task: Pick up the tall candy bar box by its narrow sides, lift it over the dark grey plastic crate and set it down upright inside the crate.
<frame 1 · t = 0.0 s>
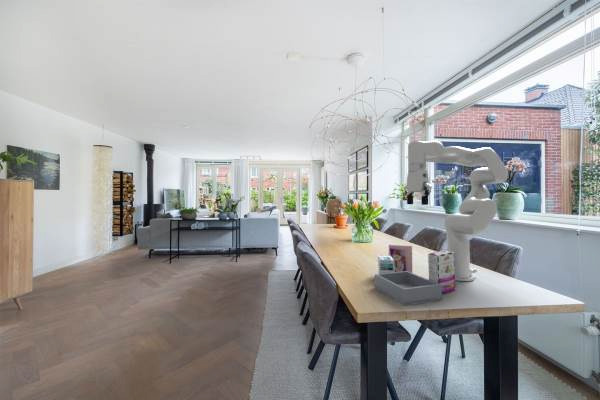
hand: (417, 204, 120), 37 cm above the table, tool pointing down, fingers open, 9 cm apart
pink printed box: (401, 275, 133), on the table
crate: (406, 293, 107), on the table
candy bar box: (441, 291, 109), on the table
light bulb box: (386, 279, 126), on the table
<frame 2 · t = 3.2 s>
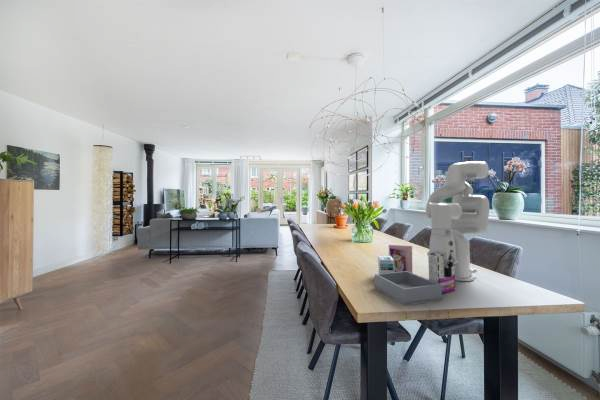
hand: (441, 274, 109), 7 cm above the table, tool pointing down, fingers closed on candy bar box, 5 cm apart
candy bar box: (441, 291, 109), on the table, touching gripper
everything else where it was.
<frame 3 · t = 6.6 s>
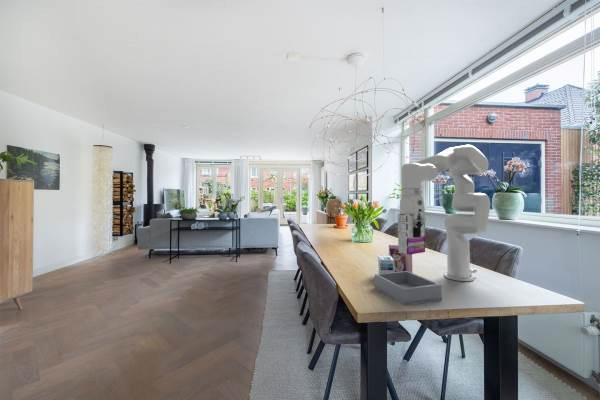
hand: (411, 235, 107), 24 cm above the table, tool pointing down, fingers closed on candy bar box, 5 cm apart
candy bar box: (411, 253, 107), point 17 cm above the table, touching gripper
everything else where it was.
when the fingers open (9 cm above the table, at t = 10.1 s): candy bar box stays where it is, resting on crate.
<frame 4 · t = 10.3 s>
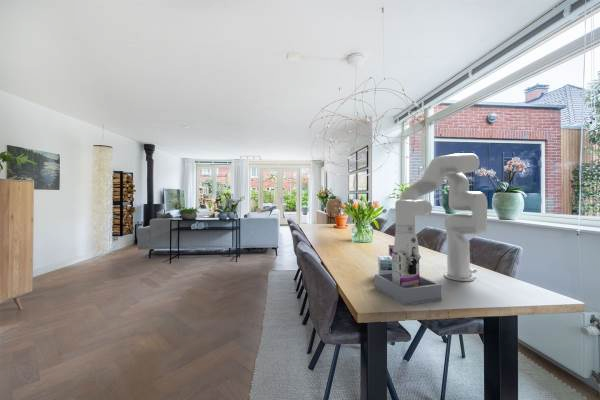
hand: (405, 271, 107), 9 cm above the table, tool pointing down, fingers open, 7 cm apart
candy bar box: (405, 291, 107), point 1 cm above the table, touching crate
everything else where it was.
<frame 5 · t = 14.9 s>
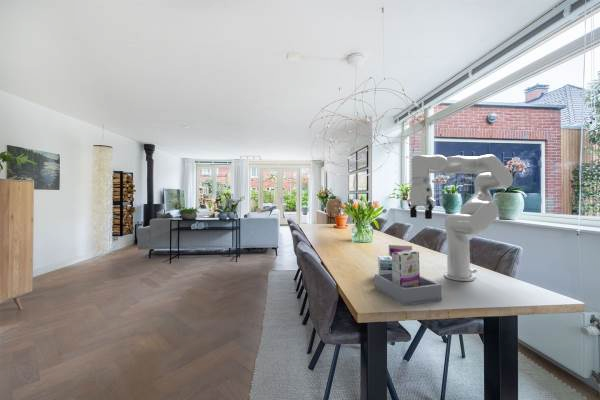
hand: (420, 218, 121), 30 cm above the table, tool pointing down, fingers open, 9 cm apart
nothing on the table moved.
at the end: candy bar box inside the target area on the crate (0.3 cm from its centre), point 0.8 cm above the crate's base; candy bar box tilted 0°; the gripper is holding nothing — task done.
